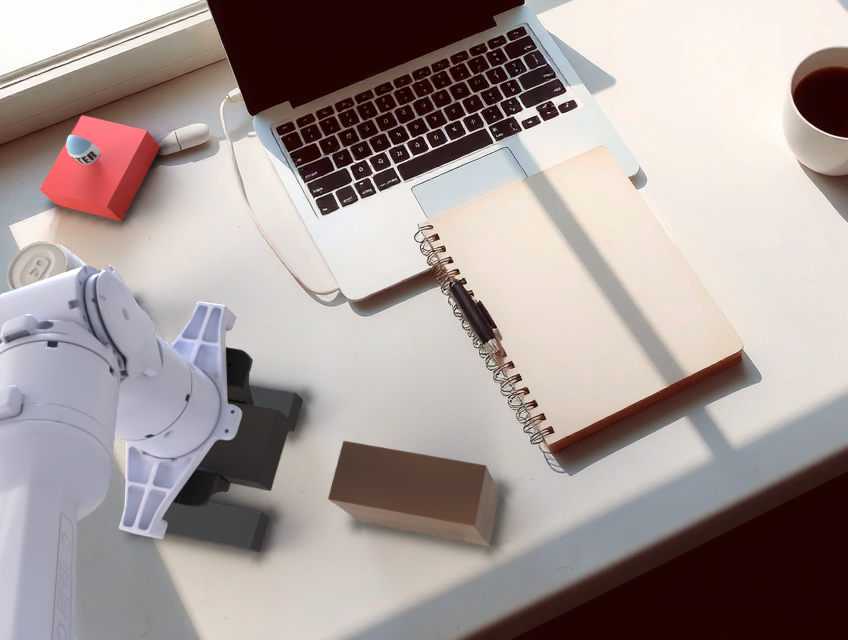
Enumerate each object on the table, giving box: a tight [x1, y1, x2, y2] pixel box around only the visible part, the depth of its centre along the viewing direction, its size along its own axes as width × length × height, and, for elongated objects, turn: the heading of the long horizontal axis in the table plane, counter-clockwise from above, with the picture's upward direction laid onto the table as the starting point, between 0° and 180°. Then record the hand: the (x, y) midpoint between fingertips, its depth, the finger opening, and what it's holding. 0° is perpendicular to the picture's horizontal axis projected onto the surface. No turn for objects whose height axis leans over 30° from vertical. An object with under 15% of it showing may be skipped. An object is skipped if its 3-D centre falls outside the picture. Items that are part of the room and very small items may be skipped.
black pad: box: [198, 401, 291, 492], centre depth 64 cm, size 5×8×3 cm, turn 79°
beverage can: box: [6, 240, 88, 291], centre depth 73 cm, size 5×5×12 cm
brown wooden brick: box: [327, 440, 500, 547], centre depth 66 cm, size 4×10×10 cm, turn 79°
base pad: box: [162, 384, 304, 553], centre depth 72 cm, size 12×10×2 cm
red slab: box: [39, 114, 161, 222], centre depth 82 cm, size 8×7×6 cm
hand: (228, 446), depth 65 cm, fingers closed on black pad, 5 cm apart
